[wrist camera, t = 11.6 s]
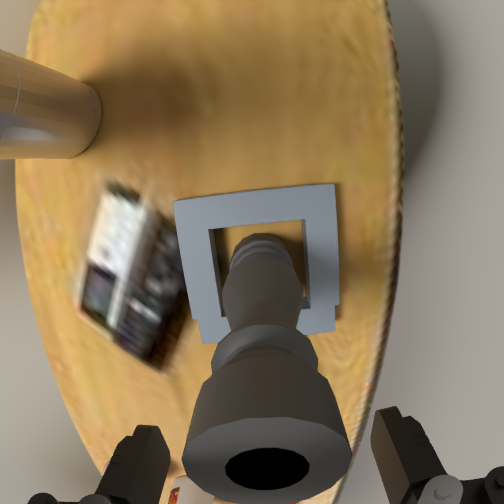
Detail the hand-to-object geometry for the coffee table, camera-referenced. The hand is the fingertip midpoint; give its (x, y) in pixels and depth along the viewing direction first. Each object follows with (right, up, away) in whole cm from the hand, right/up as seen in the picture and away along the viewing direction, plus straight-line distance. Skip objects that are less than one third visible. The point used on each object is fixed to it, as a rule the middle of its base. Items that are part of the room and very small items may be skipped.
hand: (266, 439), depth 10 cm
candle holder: (0, +6, +23) cm, 24 cm away
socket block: (+1, +4, +23) cm, 24 cm away
